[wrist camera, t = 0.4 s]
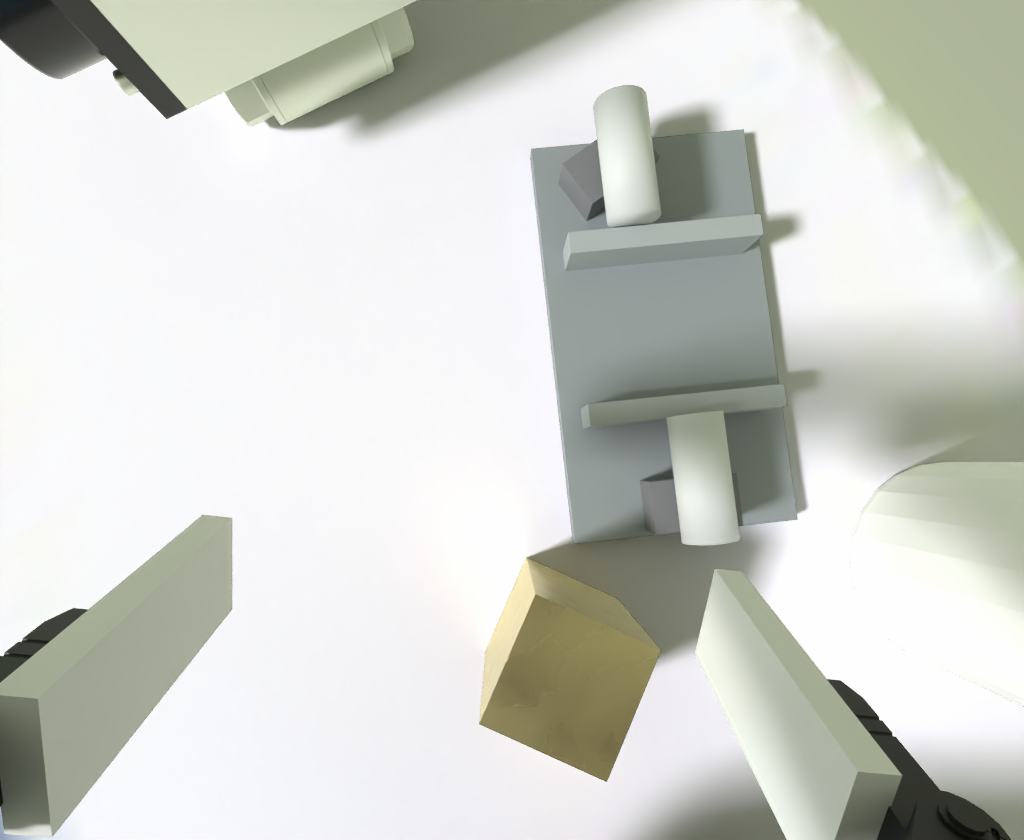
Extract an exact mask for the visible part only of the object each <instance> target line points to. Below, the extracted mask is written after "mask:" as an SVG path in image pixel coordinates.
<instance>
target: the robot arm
mask: <svg viewBox="0 0 1024 840" xmlns="http://www.w3.org/2000/svg"><path fill="white" fill-rule="evenodd" d="M231 610H232V518H228V517H218V516H209V515H202V516H201V517H200V518H198V519H197V520H196V521H195V522H194V523H192V524H191V525H190V526H189V527H188V528H186V529H185V530H184V531H183V532H182V533H180V534H179V535H178V536H177V537H175V538H174V539H173V540H172V541H171V542H169V543H168V544H167V545H166V546H165V547H163V548H162V549H161V550H160V551H159V552H157V553H156V554H155V555H154V556H153V557H151V558H150V559H149V560H148V561H147V562H145V563H144V564H143V565H142V566H140V567H139V568H138V569H137V570H136V571H134V572H133V573H132V574H131V575H130V576H128V577H127V578H126V579H125V580H124V581H122V582H121V583H120V584H119V585H118V586H116V587H115V588H114V589H113V590H112V591H110V592H109V593H108V594H107V595H105V596H104V597H103V598H102V599H101V600H99V601H98V602H97V603H96V604H95V605H93V606H92V607H91V608H90V609H89V610H86V609H76V608H73V609H71V610H68V611H66V612H64V613H62V614H60V615H58V616H56V617H54V618H51V619H49V620H47V621H45V622H44V623H42V624H41V625H40V626H38V627H37V628H36V629H35V630H33V631H32V632H31V633H29V634H28V635H27V636H26V637H24V638H23V640H22V642H18V643H17V644H15V645H14V646H13V647H11V648H10V649H9V650H8V651H6V652H5V654H4V656H0V806H1V811H2V819H3V826H4V834H15V835H28V836H41V837H53V835H54V834H55V833H56V832H57V830H58V829H59V828H60V827H61V825H62V824H63V823H64V822H65V820H66V819H67V818H68V816H69V815H70V814H71V813H72V811H73V810H74V809H75V808H76V806H77V805H78V804H79V803H80V801H81V800H82V799H83V797H84V796H85V795H86V794H87V792H88V791H89V790H90V789H91V787H92V786H93V785H94V784H95V782H96V781H97V780H98V778H99V777H100V776H101V775H102V773H103V772H104V771H105V770H106V768H107V767H108V766H109V765H110V763H111V762H112V761H113V759H114V758H115V757H116V756H117V754H118V753H119V752H120V751H121V749H122V748H123V747H124V745H125V744H126V743H127V742H128V740H129V739H130V738H131V737H132V735H133V734H134V733H135V732H136V730H137V729H138V728H139V726H140V725H141V724H142V723H143V721H144V720H145V719H146V718H147V716H148V715H149V714H150V713H151V711H152V710H153V709H154V707H155V706H156V705H157V704H158V702H159V701H160V700H161V699H162V697H163V696H164V695H165V694H166V692H167V691H168V690H169V688H170V687H171V686H172V685H173V683H174V682H175V681H176V680H177V678H178V677H179V676H180V675H181V673H182V672H183V671H184V669H185V668H186V667H187V666H188V664H189V663H190V662H191V661H192V659H193V658H194V657H195V656H196V654H197V653H198V652H199V650H200V649H201V648H202V647H203V645H204V644H205V643H206V642H207V640H208V639H209V638H210V637H211V635H212V634H213V633H214V631H215V630H216V629H217V628H218V626H219V625H220V624H221V623H222V621H223V620H224V619H225V618H226V616H227V615H228V614H229V612H230V611H231ZM695 656H696V658H697V660H698V662H699V664H700V666H701V668H702V670H703V672H704V674H705V676H706V678H707V680H708V682H709V684H710V686H711V688H712V690H713V692H714V694H715V696H716V698H717V700H718V702H719V704H720V706H721V708H722V710H723V712H724V714H725V716H726V718H727V720H728V722H729V724H730V726H731V728H732V730H733V732H734V734H735V736H736V738H737V740H738V742H739V744H740V746H741V748H742V750H743V753H744V755H745V757H746V759H747V761H748V763H749V765H750V767H751V769H752V771H753V773H754V775H755V777H756V779H757V781H758V783H759V785H760V787H761V789H762V791H763V793H764V795H765V797H766V799H767V801H768V803H769V805H770V807H771V809H772V811H773V813H774V815H775V817H776V819H777V821H778V823H779V825H780V827H781V829H782V831H783V833H784V835H785V837H786V839H787V840H1011V839H1010V837H1009V836H1008V835H1007V834H1006V832H1005V831H1004V830H1003V828H1002V827H1001V826H1000V825H999V824H998V823H997V822H996V821H995V820H994V819H993V818H991V817H990V816H989V815H988V814H987V813H986V812H984V811H983V810H982V809H980V808H978V807H977V806H975V805H974V804H972V803H970V802H969V801H967V800H966V799H963V798H961V797H959V796H956V795H954V794H951V793H949V792H945V791H940V790H939V788H938V787H937V786H936V785H935V784H934V782H933V781H932V780H931V779H930V778H929V776H928V775H927V774H926V773H925V772H924V770H923V769H922V768H921V767H920V766H919V764H918V763H917V762H916V761H915V760H914V758H913V757H912V756H911V755H910V754H909V752H908V751H907V750H906V749H905V748H904V746H903V745H902V744H901V743H900V742H899V740H898V739H897V738H896V737H893V736H892V732H891V731H890V730H889V729H888V727H887V726H886V725H885V724H884V723H883V721H880V720H879V717H878V715H877V714H876V713H875V712H874V711H873V709H872V708H871V707H870V706H869V705H868V703H867V702H866V701H865V700H864V699H863V698H862V697H861V696H860V695H858V694H857V693H856V692H855V691H853V690H852V689H851V688H849V687H848V686H847V685H845V684H844V683H843V682H842V681H839V680H829V679H826V678H825V676H824V675H823V674H822V673H821V671H820V670H819V669H818V667H817V666H816V665H815V664H814V662H813V661H812V660H811V659H810V657H809V656H808V655H807V653H806V652H805V651H804V650H803V648H802V647H801V646H800V645H799V643H798V642H797V641H796V639H795V638H794V637H793V636H792V634H791V633H790V632H789V631H788V629H787V628H786V627H785V625H784V624H783V623H782V622H781V620H780V619H779V618H778V617H777V615H776V614H775V613H774V611H773V610H772V609H771V608H770V606H769V605H768V604H767V603H766V601H765V600H764V599H763V597H762V596H761V595H760V594H759V592H758V591H757V590H756V589H755V587H754V586H753V585H752V583H751V582H750V581H749V580H748V578H747V577H746V576H745V575H744V573H743V572H742V571H734V570H724V569H715V571H714V575H713V579H712V583H711V588H710V592H709V596H708V600H707V605H706V609H705V613H704V617H703V622H702V626H701V630H700V634H699V639H698V643H697V647H696V651H695Z"/></svg>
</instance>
